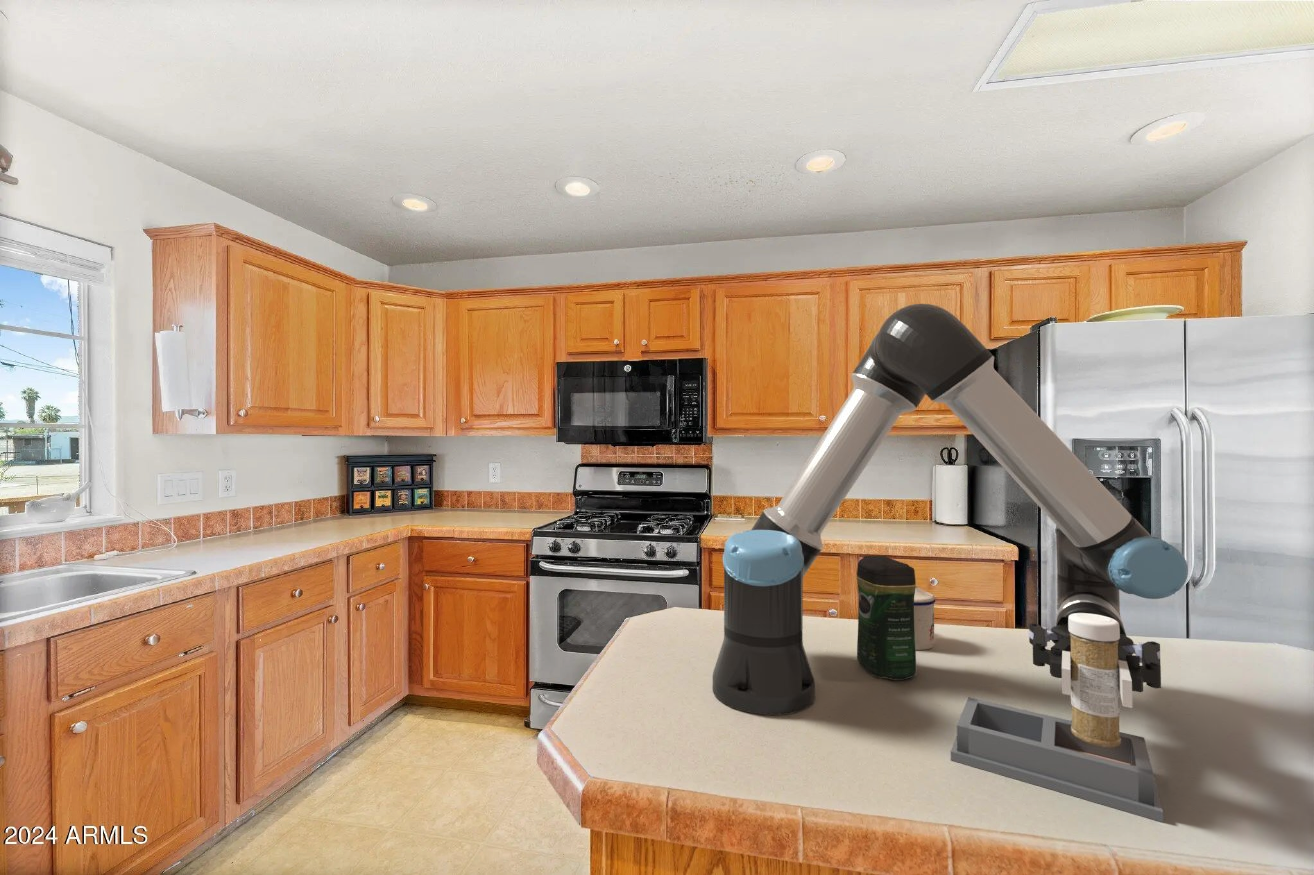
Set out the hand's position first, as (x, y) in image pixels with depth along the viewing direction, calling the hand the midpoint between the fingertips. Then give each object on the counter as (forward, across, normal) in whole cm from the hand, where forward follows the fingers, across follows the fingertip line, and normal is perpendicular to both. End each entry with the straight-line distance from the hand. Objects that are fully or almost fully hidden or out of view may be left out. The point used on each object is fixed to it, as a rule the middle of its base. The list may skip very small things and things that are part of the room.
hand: (1096, 687), depth 59 cm
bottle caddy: (-5, +4, -12) cm, 14 cm away
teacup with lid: (-41, +28, -12) cm, 51 cm away
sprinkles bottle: (-5, 0, -8) cm, 9 cm away
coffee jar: (-24, +27, -12) cm, 38 cm away
